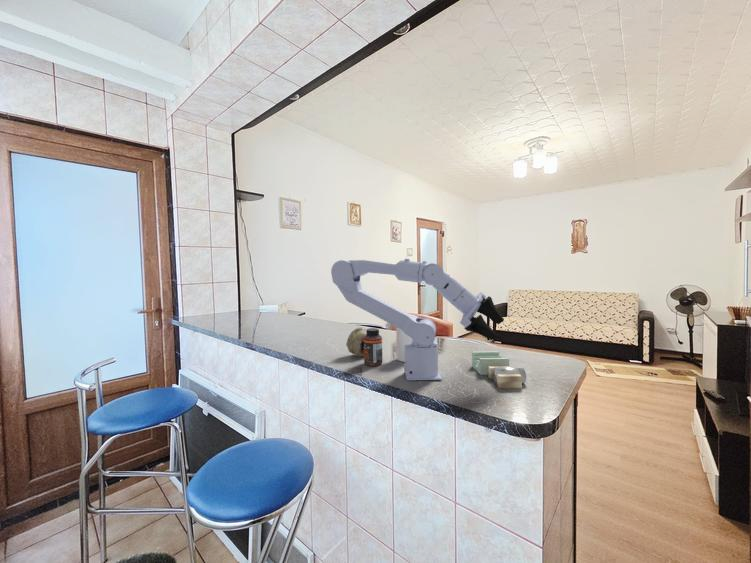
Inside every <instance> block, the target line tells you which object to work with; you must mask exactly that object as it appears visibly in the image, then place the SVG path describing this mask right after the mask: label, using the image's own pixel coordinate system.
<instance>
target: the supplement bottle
mask: <svg viewBox="0 0 751 563" xmlns="http://www.w3.org/2000/svg"><path fill="white" fill-rule="evenodd" d="M366 331H367V332H366V333H367V334H366V336H365V337H364V356H363V362H364V365H366V366H368V367H377V366H381V365H382V364H383V337H382V336H381V335H380V334H379V333H380V329H379V328H377V327H370V328H367V329H366Z"/></svg>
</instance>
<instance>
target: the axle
mask: <svg viewBox="0 0 751 563" xmlns="http://www.w3.org/2000/svg"><path fill="white" fill-rule="evenodd" d="M497 374H520V375H521V376H522V384H525V383H526V382H527V373H526V370H525V369H524V367H522V366H517V367H510V366H509V367H507V368H494V369H493V378H494V379H493V382H494V383H496V385H497Z"/></svg>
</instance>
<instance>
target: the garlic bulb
mask: <svg viewBox="0 0 751 563" xmlns="http://www.w3.org/2000/svg"><path fill="white" fill-rule="evenodd" d="M366 332H367V329H366V328H362V327H360V326H359V327H356V328H355V329H353V330H352V331H351V332H350V334H348V338H347V340H346V343H345V345H346V347H347V349H348V350H347V351H348V352H349V353H351V354H352V355H355V356H357V357H360V358H362V356H363V357H364V337H365V336H366V334H367V333H366Z"/></svg>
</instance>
